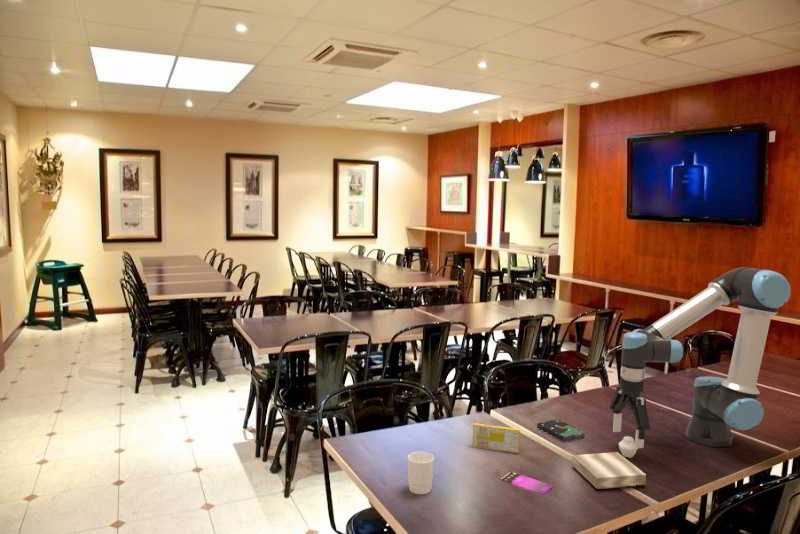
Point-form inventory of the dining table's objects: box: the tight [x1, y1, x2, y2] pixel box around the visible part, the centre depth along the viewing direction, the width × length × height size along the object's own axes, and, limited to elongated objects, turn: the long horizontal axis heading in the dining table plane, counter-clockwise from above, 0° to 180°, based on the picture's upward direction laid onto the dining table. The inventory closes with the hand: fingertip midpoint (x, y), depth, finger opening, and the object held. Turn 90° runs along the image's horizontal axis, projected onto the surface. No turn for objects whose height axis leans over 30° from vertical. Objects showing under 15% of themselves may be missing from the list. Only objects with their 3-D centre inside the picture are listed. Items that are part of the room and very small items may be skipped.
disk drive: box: [536, 419, 586, 443], centre depth 215 cm, size 10×3×15 cm
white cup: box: [406, 451, 435, 495], centre depth 171 cm, size 8×8×10 cm
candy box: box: [471, 422, 521, 454], centre depth 200 cm, size 16×2×8 cm, turn 71°
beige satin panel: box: [571, 451, 647, 490], centre depth 181 cm, size 16×16×4 cm
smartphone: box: [499, 471, 554, 496], centre depth 176 cm, size 7×15×1 cm, turn 50°
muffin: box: [618, 435, 639, 459], centre depth 196 cm, size 6×6×7 cm
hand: (627, 439), depth 195 cm, fingers open, 13 cm apart
